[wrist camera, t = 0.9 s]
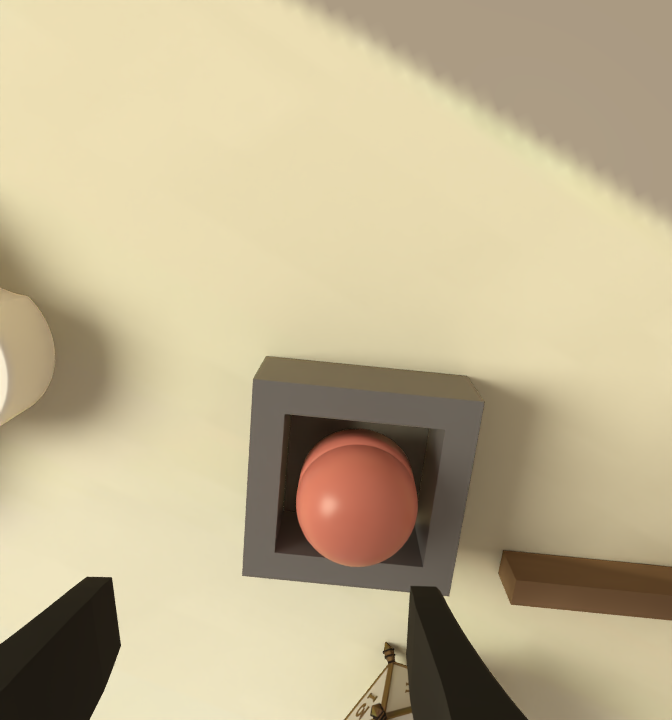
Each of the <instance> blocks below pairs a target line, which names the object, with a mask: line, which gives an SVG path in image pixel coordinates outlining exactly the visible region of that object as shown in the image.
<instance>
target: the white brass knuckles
mask: <svg viewBox="0 0 672 720" xmlns="http://www.w3.org/2000/svg"><path fill="white" fill-rule="evenodd" d="M54 367H55V347H54V342H53V337H52V334H51V331H50V328H49V326H48V324H47V322H46V320H45V318H44V316H43V314H42V313H41V311H40V310H39V308H38V307H37V306H36V304H35V303H34V302H33V301H32V300H31V299H30V298H29V297H28V296H26V295H21V294H16V293H13V292H10V291H7V290H5V289H3V288H1V287H0V426H1V425H3V424H4V423H6V422H7V421H9V420H11V419H12V418H14V417H15V416H17V415H19V414H20V413H22V412H23V411H25V410H27V409H28V408H30V407H31V406H32V405H34V404H35V403H36V402H37V401H38V400H39V399H40V398H41V397H42V396H43V394H44V393H45V391H46V390H47V388H48V386H49V384H50V382H51V379H52V376H53V372H54Z"/></svg>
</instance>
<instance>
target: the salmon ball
mask: <svg viewBox="0 0 672 720" xmlns="http://www.w3.org/2000/svg"><path fill="white" fill-rule="evenodd" d="M296 510H297V517H298V521H299V524H300V527H301V529H302V531H303V533H304V535H305V537H306V539H307V540H308V542H309V543H310V544H311V545H312V546H313V548H314V549H315V550H316V551H318V552H319V553H320V554H321V555H322V556H324V557H325V558H327V559H329V560H331V561H333V562H335V563H338V564H341V565H344V566H350V567H366V566H371V565H374V564H378V563H380V562H382V561H384V560H386V559H388V558H390V557H391V556H393V555H394V554H395V553H396V552H397V551H398V550H399V549H400V548H401V547H402V546H403V545H404V544H405V543H406V541H407V540H408V538H409V536H410V535H411V533H412V530H413V528H414V525H415V522H416V518H417V512H418V498H417V491H416V487H415V482H414V478H413V473H412V469H411V465H410V463H409V460H408V458H407V456H406V455H405V453H404V452H403V450H402V449H401V448H400V447H399V446H398V445H397V444H396V443H395V442H394V441H392V440H391V439H390V438H388V437H386V436H385V435H383V434H380V433H378V432H375V431H371V430H367V429H346V430H341V431H338V432H335V433H332V434H330V435H328V436H326V437H325V438H323V439H322V440H320V441H319V442H318V443H317V444H315V445H314V447H313V448H312V449H311V450H310V451H309V453H308V454H307V456H306V458H305V460H304V462H303V465H302V468H301V474H300V479H299V484H298V489H297V496H296Z"/></svg>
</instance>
